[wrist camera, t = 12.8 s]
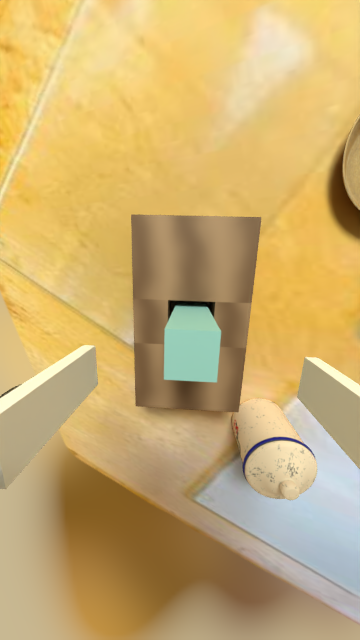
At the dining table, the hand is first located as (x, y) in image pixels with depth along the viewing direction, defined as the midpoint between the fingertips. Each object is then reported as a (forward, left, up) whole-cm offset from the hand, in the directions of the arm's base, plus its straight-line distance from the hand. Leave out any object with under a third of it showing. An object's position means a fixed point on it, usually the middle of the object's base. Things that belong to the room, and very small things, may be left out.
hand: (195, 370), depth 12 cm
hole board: (0, 0, -18) cm, 18 cm away
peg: (0, 0, -16) cm, 16 cm away
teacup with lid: (-13, +19, -18) cm, 29 cm away
